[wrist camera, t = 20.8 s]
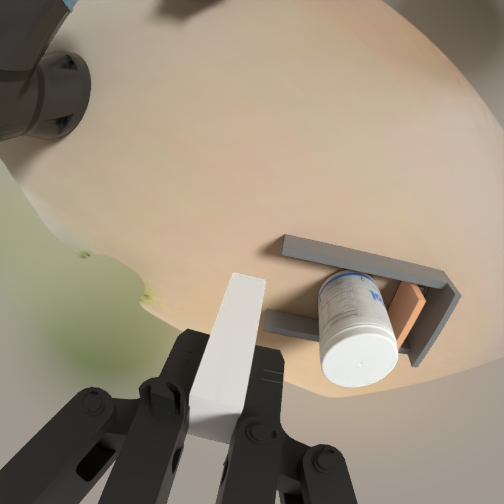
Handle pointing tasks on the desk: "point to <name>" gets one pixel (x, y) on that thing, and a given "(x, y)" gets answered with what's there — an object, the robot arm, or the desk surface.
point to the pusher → (405, 309)
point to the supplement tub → (354, 330)
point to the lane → (437, 298)
